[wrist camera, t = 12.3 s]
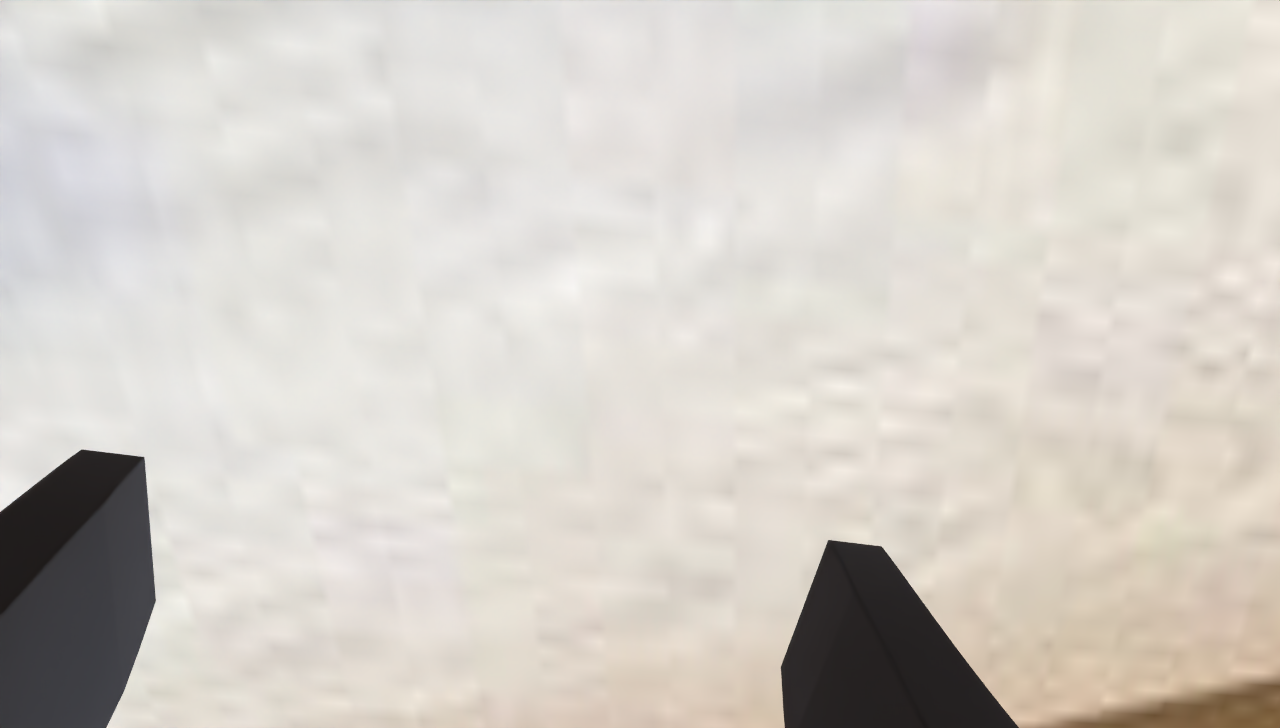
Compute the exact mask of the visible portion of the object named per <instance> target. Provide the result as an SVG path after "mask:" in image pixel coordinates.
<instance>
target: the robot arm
mask: <svg viewBox="0 0 1280 728" xmlns="http://www.w3.org/2000/svg"><path fill="white" fill-rule="evenodd" d="M155 601H156V599H155V586H154V573H153V561H152V548H151V535H150V523H149V510H148V497H147V485H146V472H145V459H144V457H138V456H130V455H122V454H114V453H105V452H97V451H89V450H80V451H79V452H78V453H76V454H75V455H73V456H72V457H70V458H69V459H68V460H66V461H65V462H64V463H63V464H61V465H60V466H59V467H57V468H56V469H55V470H53V471H52V472H51V473H49V474H48V475H47V476H46V477H44V478H43V479H42V480H40V481H39V482H38V483H37V484H35V485H34V486H33V487H32V488H30V489H29V490H28V491H26V492H25V493H24V494H23V495H21V496H20V497H19V498H18V499H16V500H15V501H14V502H12V503H11V504H10V505H9V506H7V507H6V508H5V509H4V510H2V511H1V512H0V728H106V727H107V725H108V723H109V721H110V719H111V717H112V715H113V713H114V711H115V709H116V706H117V704H118V702H119V700H120V698H121V696H122V694H123V692H124V689H125V687H126V684H127V681H128V678H129V676H130V673H131V670H132V668H133V665H134V662H135V659H136V657H137V654H138V651H139V648H140V645H141V642H142V640H143V637H144V634H145V631H146V628H147V625H148V622H149V619H150V616H151V613H152V610H153V607H154V604H155ZM781 675H782V692H783V708H784V722H785V728H1019V727H1018V726H1017V725H1016V724H1015V722H1014V721H1013V720H1012V719H1011V718H1010V716H1009V715H1008V714H1007V713H1006V711H1005V710H1004V709H1003V708H1002V707H1001V705H1000V704H999V703H998V701H997V700H996V699H995V698H994V696H993V695H992V694H991V693H990V691H989V690H988V689H987V688H986V686H985V685H984V684H983V682H982V681H981V680H980V678H979V677H978V676H977V675H976V673H975V672H974V671H973V669H972V668H971V667H970V666H969V664H968V663H967V662H966V660H965V659H964V658H963V656H962V655H961V654H960V652H959V651H958V650H957V648H956V647H955V646H954V644H953V643H952V642H951V640H950V639H949V638H948V636H947V635H946V633H945V632H944V631H943V629H942V628H941V627H940V625H939V624H938V623H937V621H936V620H935V619H934V617H933V616H932V614H931V613H930V612H929V610H928V609H927V608H926V606H925V605H924V603H923V602H922V601H921V599H920V598H919V597H918V595H917V594H916V592H915V591H914V590H913V588H912V587H911V586H910V584H909V583H908V581H907V580H906V579H905V577H904V576H903V574H902V573H901V572H900V570H899V569H898V568H897V566H896V565H895V564H894V562H893V561H892V560H891V558H890V557H889V556H888V554H887V553H886V552H885V550H884V549H883V548H882V547H881V546H873V545H865V544H856V543H848V542H840V541H832V540H828V542H827V545H826V548H825V550H824V553H823V556H822V559H821V561H820V564H819V567H818V569H817V572H816V575H815V577H814V580H813V583H812V585H811V588H810V591H809V593H808V596H807V599H806V601H805V604H804V607H803V609H802V612H801V615H800V617H799V620H798V623H797V625H796V628H795V631H794V633H793V636H792V639H791V641H790V644H789V647H788V650H787V652H786V655H785V658H784V660H783V663H782V666H781Z"/></svg>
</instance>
